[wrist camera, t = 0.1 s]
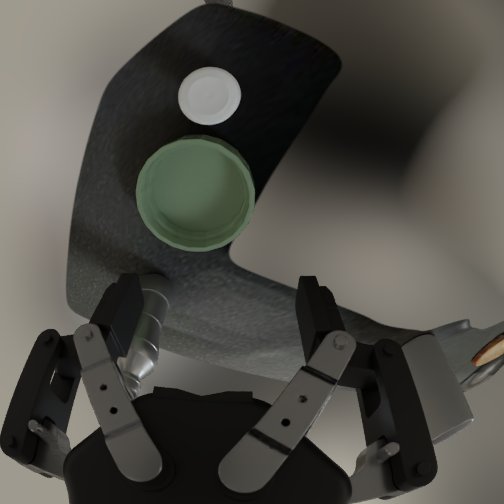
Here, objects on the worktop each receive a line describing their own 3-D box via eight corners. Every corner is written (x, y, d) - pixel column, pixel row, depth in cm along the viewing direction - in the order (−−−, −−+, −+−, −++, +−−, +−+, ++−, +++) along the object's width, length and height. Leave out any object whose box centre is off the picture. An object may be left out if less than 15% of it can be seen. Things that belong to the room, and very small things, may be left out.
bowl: (141, 138, 31) (129, 144, 27) (255, 133, 31) (256, 138, 28) (153, 236, 38) (145, 251, 35) (252, 236, 39) (252, 251, 36)
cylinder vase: (396, 342, 54) (433, 436, 33) (440, 326, 53) (483, 411, 32) (388, 370, 61) (416, 452, 40) (428, 356, 60) (460, 431, 39)
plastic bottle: (130, 277, 42) (86, 380, 25) (161, 261, 41) (121, 373, 24) (153, 304, 45) (124, 406, 29) (184, 291, 44) (161, 401, 27)
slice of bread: (468, 361, 66) (472, 369, 63) (504, 325, 58) (509, 333, 55) (483, 365, 71) (487, 372, 68) (514, 333, 63) (519, 339, 59)
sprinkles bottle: (197, 84, 28) (167, 80, 16) (234, 71, 27) (228, 57, 16) (210, 118, 30) (189, 134, 19) (247, 105, 29) (249, 113, 18)
